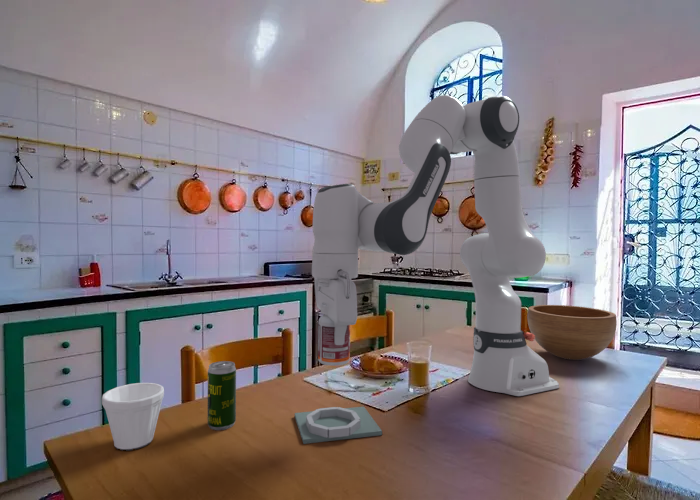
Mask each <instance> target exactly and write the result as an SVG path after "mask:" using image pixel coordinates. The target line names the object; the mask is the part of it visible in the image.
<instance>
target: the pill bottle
mask: <svg viewBox="0 0 700 500" xmlns="http://www.w3.org/2000/svg"><path fill="white" fill-rule="evenodd" d="M327 310H328V306H327V305H326V304H325V303H322V304H321V310H320V314H322V315H321V316H320V317H319V319H318V328H317V331H318V332H317V335H318V337H317V340H318V342H317V343H318V344H317V357H318V358H317V361H318V362H319V363H320V364H322V365H325V366H332V367H333V366H335V367H336V366H344V365H346V364H348V363H349V362H350V360H351V358H350V357H351V325H347V329H346V333H345V341H344V344H343V345H336V344H335V343H334V342H333V339H334V338H333V334H334V332H335V326H334V322H333V321H332V320H331V319H330V318H329V317H328V316H327V315H328V314H327Z"/></svg>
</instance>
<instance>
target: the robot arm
mask: <svg viewBox="0 0 700 500" xmlns="http://www.w3.org/2000/svg"><path fill="white" fill-rule="evenodd" d="M519 125H520V114H519V109H518V107H517V105H516V104H515V102H513V100H512V99H511V98H509V97H508V96H505V95H493V96H489V97H487V98H485V99H480V100H477V101H472V102H469V103H467V104H464V105H463V104H462V103H461V101H460V100H459V99H457V98H455V97H454V96H451V95H444V94H443V95H438V96H436V97H434V98H433V99H432V100H431V101H429V102H428V103H427V104H426V105H425V106H424V107H423V108H422V109H421V110H420V111H419V112H418V114H417V115H416V116H415V117H414V118H413V120H412V121H411V122H410V124H409V125H408V127H407V128H406V130H405V131H404V133H403V135H402V137H401V138H400V142H399V143H398V151H399V155H400V159H401V160H402V163H404V165H405V166H406V167H407V168H408V169H409V170H410V171H411V172H412V173H414V174H413V177H412V179H411V181H410V183H409V185H408V186H407V189H406V191H405V193H404V194H403V195H402V196H400V197H399V198H396V199H395V200H392V201H388V202H387V201H386V202H379V203H375V202H374V201H372V200H370V199H369V198H367V197H366V196H364V195H363V194H361V193H360V191H358V190H357V188H356V186H355V184H352V183H340V184H336V185H335V184H334V185H329V186H327V185H326V186H323V187H321V188H320V189H319V190H317V192H316V194H315V196H314V197H315V198H314V202H313V212H312V233H313V237H314V243H313V247H312V255H311V256H312V257H311V259H312V263H311V276H312V278H314V295H315V296H314V297H315V304H316V308H317V309H319V310H320V311H321V304H322V303H325V304H326V305H327V306H328V310H327V314H328V315H327V316H328V317H329V318H330V319H331V320H332V321H333V322H334V326H335V332H334V334H333V338H334V339H333V342H334V343H335V344H336V345H343V344H344V341H345V333H346V329H347V325H350V326H354V325H356V324H357V319H358V301H357V300H358V294H357V286H356V284H355V282H354V281H353V280H352V279H356V278H358V277H359V250H362V251H369V252H370V251H372V252H381V253H382V252H383V253H384V252H385V253H390V254H395V255H399V256H400V255H401V256H407V255H410V254H413V253H414V252H416V251H417V250H418V249H419V248H420V247H421V245H422V244H423V242H424V240H425V239H426V235H427V232H428V227H429V222H430V218H431V215H432V212H433V211H434V210H433V209H434V208H435V206H436V203H437V201H438V198H439V196H440V193H441V192H442V190H443V187H444V184H445V182H446V180H447V178H448V174H449V173H450V169H451V166H452V157H451V155H459V154H460V153H461V154H462V153H468V152H469V153H470V152H472V154H473V155H474V165H473V166H474V167H473V179H474V181H473V182H474V183H473V184H474V204H475V205H474V207H475V212H476V213H477V215H479V216H480V217H481V218H482V220H483V221H484V223H485V226H486V228H487V232H488V233H487V232H486V233H484V232H483V233H478V234H475V235H472V236H470V237H468V238H466V239H465V240H464V241H463V243H462V244H461V246H460V250H459V257H460V262H461V263H462V265H463V266H464V267H465V268H466V270H467V272H468V274H469V277H470V280H471V284H472V288H473V292H474V298H475V327H473V337H472V338H473V339H472V341H473V342H472V343H473V358H472V362H471V368H470V372H469V376H468V378H467V381H468V383H469V384H471V385H472V386H474V387H476V388H479V389H482V390H485V391H490V392H494V393H495V392H496V393H500V394H501V393H502V394H506V395H510V396H515V397H523V396H527V395H532V394H536V393H537V394H538V393H542V392H546V391H551V390H556V389H559V388H560V383H559V381H557V380H556V379H554V378H552V377H551V376H550V372H549V366H548V363H547V361H546V360H545V359H544V358H543V357H542V356H540V355H539V353H537V352H535V351H534V350H533V349H532V348H531V347H530V346H528V345H527V341H529V342H534V341H535V337H534V336H535V335H534V334H533V333H531V332H529V331H527V332H524V331H523V330H521V328H522V327H521V326H522V300H521V298H520V297H519V295H518V294H517V293H516V292H515V290H514V289H513V287H512V284H511V281H510V278H514V279H520V278H525V277H527V278H528V277H531V276H535V275H536V274H539V273H540V271H542V269H543V268H544V266H545V262H546V259H547V256H546V255H547V253H546V249H545V246H544V244H543V242H542V241H541V240H540V239H539V238H538V237H537V236H536V235H535V234H534V233H533V232H532V230H531V228H530V226H529V224H528V223H527V220H526V217H525V214H524V210H523V204H522V192H521V173H520V172H521V171H520V162H519V156H518V150H517V146H516V142H515V141H514V140H515V137H516V135H517V132H518V130H519Z"/></svg>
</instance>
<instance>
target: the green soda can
mask: <svg viewBox="0 0 700 500" xmlns="http://www.w3.org/2000/svg"><path fill="white" fill-rule="evenodd" d="M236 411H237V368H236V364H235V362H234V361H228V360H227V361H226V360H222V361H216V362H211V363H210V364H209V365H208V369H207V426H208V427H209V429H210V430H213V431H224V430H228V429H229V430H230V429H231V428H232V427H233V426H234V425H235V423H236V421H237V418H236V416H237V412H236Z"/></svg>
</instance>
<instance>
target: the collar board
mask: <svg viewBox="0 0 700 500" xmlns="http://www.w3.org/2000/svg"><path fill="white" fill-rule="evenodd" d="M294 419H295V422H296V425H297V429H298V432H299V434H300V438H301V440H302V443H303V445H307V444H314V443H323V442H333V441H341V440H349V439H359V438H366V437H367V438H369V437H376V436H382V435H383V430H382V429H381V427H380V426H379V424H377V422H376V421H375V420H374V418H373V417H372V415H371V414H370V413H369V412H368V410H367V408H365V406H357V407H356V406H355V407H354V406H353V407H344V408H343V407H340V406H331V407H321V408H320V407H319V408H316V409H315V410H311V411H303V412H294Z"/></svg>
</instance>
